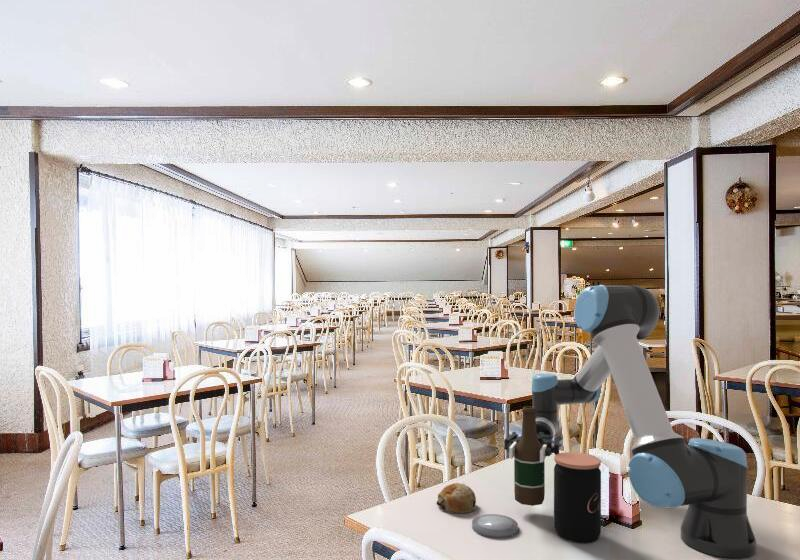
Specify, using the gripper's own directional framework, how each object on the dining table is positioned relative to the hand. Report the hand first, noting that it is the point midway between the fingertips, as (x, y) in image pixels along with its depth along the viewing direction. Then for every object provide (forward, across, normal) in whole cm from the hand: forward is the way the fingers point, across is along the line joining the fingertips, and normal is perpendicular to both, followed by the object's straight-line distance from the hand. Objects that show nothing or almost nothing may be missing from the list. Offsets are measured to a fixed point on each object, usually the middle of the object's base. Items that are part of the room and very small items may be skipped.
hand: (525, 454), depth 144 cm
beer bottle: (-5, 0, -13) cm, 14 cm away
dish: (+7, +6, -17) cm, 19 cm away
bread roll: (-2, +19, -17) cm, 25 cm away
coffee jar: (+3, -12, -17) cm, 21 cm away
